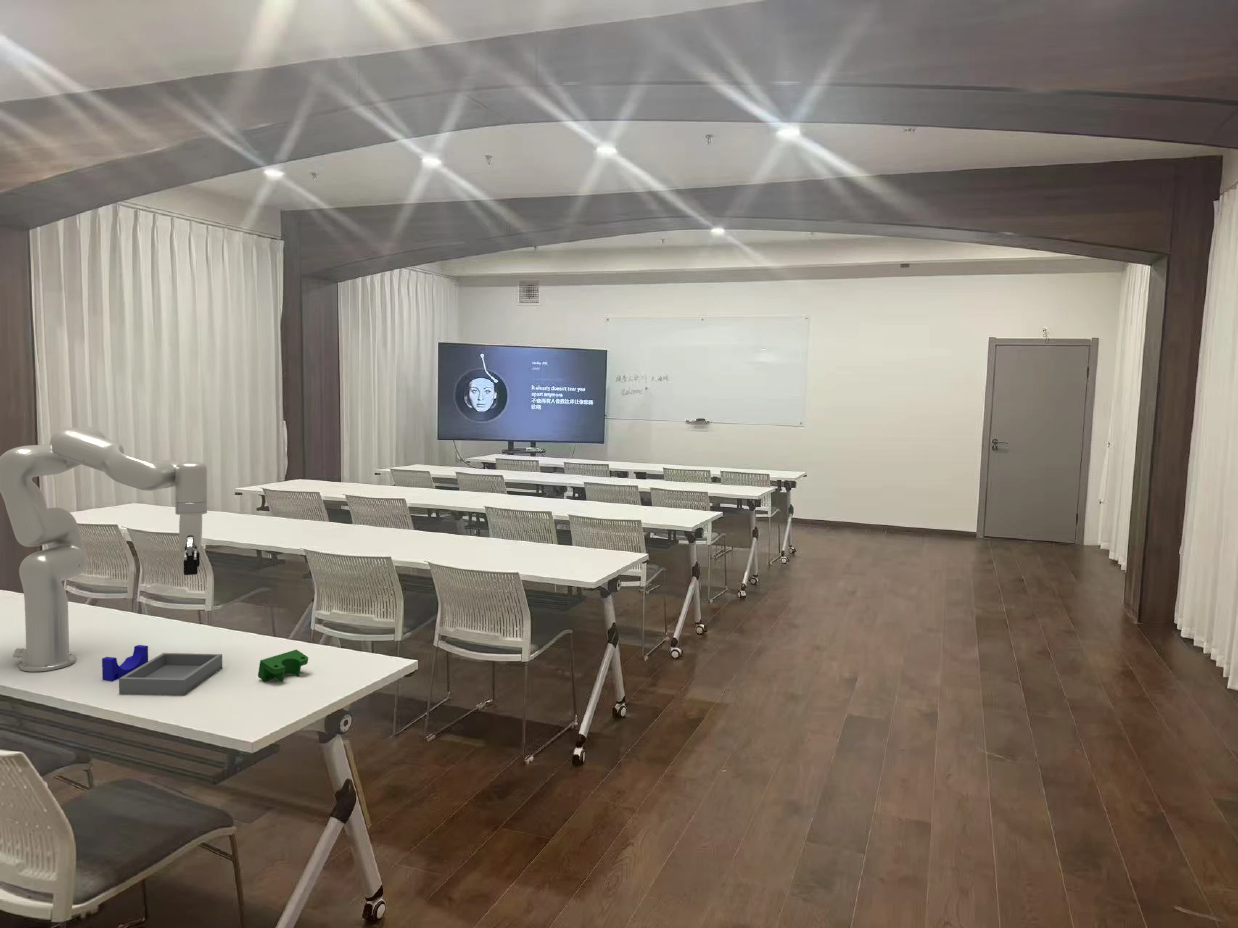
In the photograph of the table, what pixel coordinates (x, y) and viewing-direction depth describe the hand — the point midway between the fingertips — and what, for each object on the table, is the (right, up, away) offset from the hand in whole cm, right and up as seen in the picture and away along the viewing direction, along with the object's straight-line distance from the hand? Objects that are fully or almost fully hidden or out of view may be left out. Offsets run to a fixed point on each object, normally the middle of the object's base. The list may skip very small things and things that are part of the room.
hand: (191, 570), depth 214 cm
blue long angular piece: (-17, -28, -2) cm, 33 cm away
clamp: (+26, -29, -1) cm, 39 cm away
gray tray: (-1, -28, -7) cm, 29 cm away
